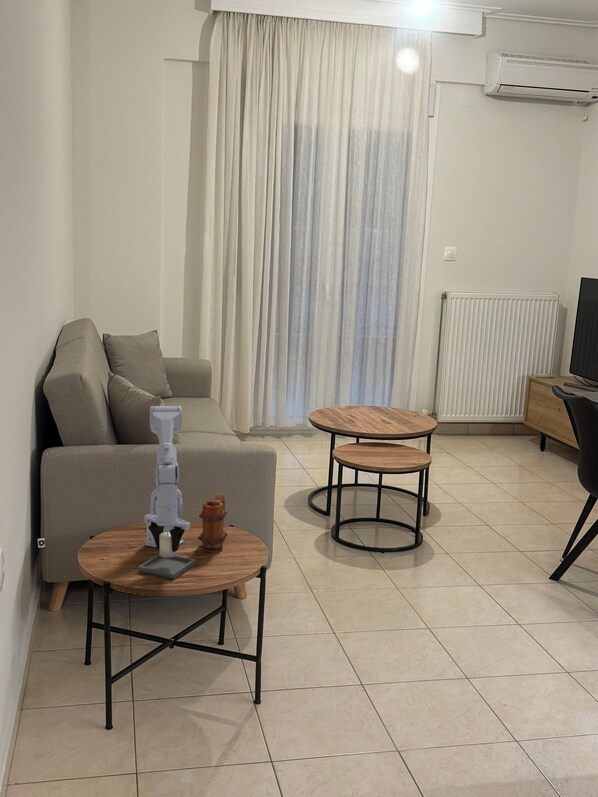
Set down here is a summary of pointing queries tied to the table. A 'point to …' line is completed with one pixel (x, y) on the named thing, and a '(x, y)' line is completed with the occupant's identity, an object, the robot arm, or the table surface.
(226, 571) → the table surface
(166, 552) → the candle
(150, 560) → the tray
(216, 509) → the mug
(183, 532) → the robot arm
